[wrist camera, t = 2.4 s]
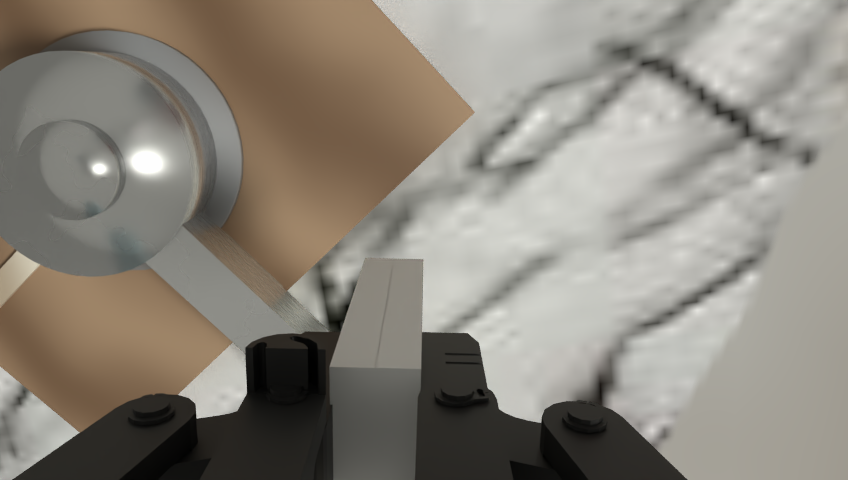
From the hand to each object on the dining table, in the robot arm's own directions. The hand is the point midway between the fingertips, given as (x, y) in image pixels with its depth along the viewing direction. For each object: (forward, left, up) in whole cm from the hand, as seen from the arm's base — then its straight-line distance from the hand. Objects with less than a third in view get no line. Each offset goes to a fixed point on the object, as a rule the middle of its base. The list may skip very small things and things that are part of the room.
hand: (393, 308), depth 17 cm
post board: (+5, -9, -9) cm, 13 cm away
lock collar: (+5, -4, -7) cm, 9 cm away
